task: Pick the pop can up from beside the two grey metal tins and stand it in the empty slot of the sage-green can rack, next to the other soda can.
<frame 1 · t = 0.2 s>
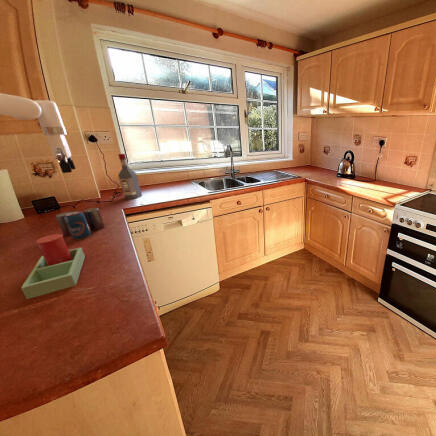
hand: (69, 170, 112), 29 cm above the countertop, tool pointing down, fingers open, 9 cm apart
soda can: (82, 237, 114), on the countertop
liquor: (133, 197, 174), on the countertop
grey tin right: (97, 228, 123), on the countertop
can rack: (60, 276, 84), on the countertop
grey tin left: (72, 233, 118), on the countertop
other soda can: (62, 267, 88), point 1 cm above the countertop, touching can rack
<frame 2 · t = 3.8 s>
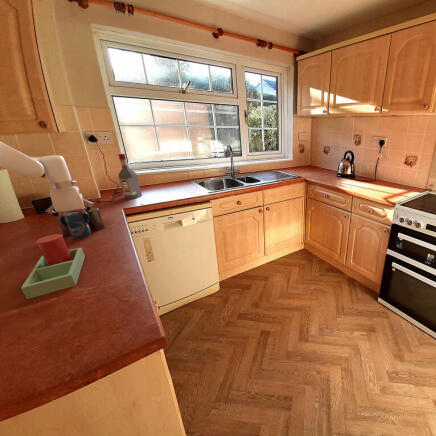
hand: (77, 222, 111), 7 cm above the countertop, tool pointing down, fingers closed on soda can, 7 cm apart
soda can: (82, 237, 114), on the countertop, touching gripper
everything else where it was.
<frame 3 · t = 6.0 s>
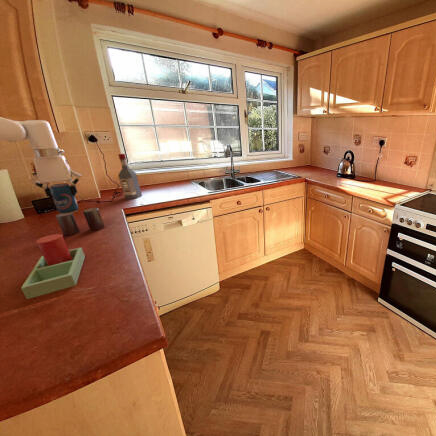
hand: (63, 195, 104), 21 cm above the countertop, tool pointing down, fingers closed on soda can, 7 cm apart
soda can: (69, 212, 106), point 13 cm above the countertop, touching gripper
everything else where it was.
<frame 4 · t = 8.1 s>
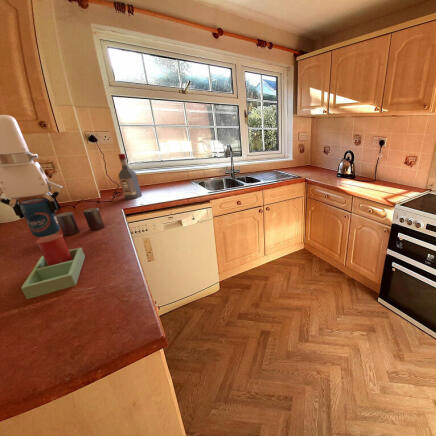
hand: (39, 214, 79), 22 cm above the countertop, tool pointing down, fingers closed on soda can, 7 cm apart
soda can: (48, 234, 82), point 14 cm above the countertop, touching gripper
everything else where it was.
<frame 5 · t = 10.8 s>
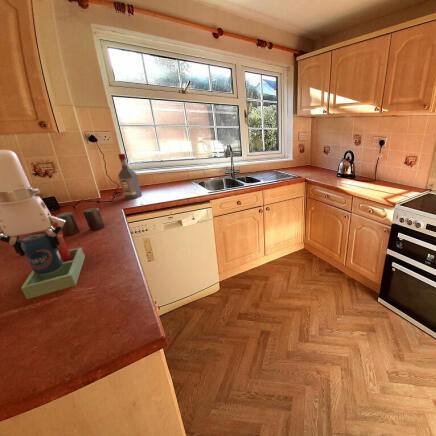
hand: (40, 250, 75), 13 cm above the countertop, tool pointing down, fingers closed on soda can, 7 cm apart
soda can: (50, 270, 78), point 5 cm above the countertop, touching gripper
everything else where it was.
when the fingers open (8 cm above the countertop, at t = 12.6 s): soda can stays where it is, resting on can rack.
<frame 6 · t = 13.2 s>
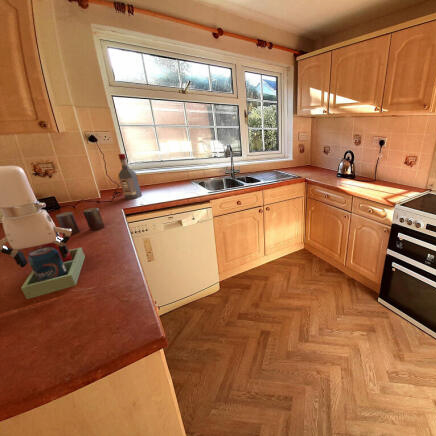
hand: (45, 260, 77), 9 cm above the countertop, tool pointing down, fingers open, 9 cm apart
soda can: (56, 282, 80), resting on can rack
everything else where it was.
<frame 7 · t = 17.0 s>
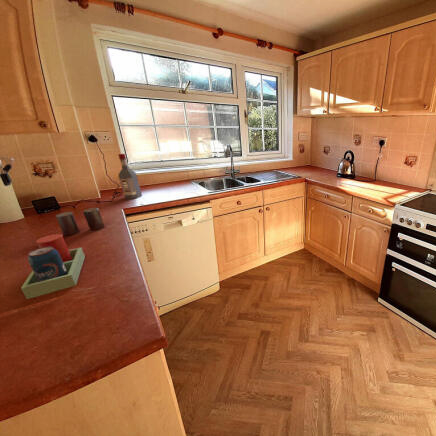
nothing on the countertop moved.
at the end: soda can 0.1 cm from the target spot in the can rack, point 0.4 cm above the can rack's base; soda can tilted 0°; soda can 10.4 cm from the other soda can (horizontally) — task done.
